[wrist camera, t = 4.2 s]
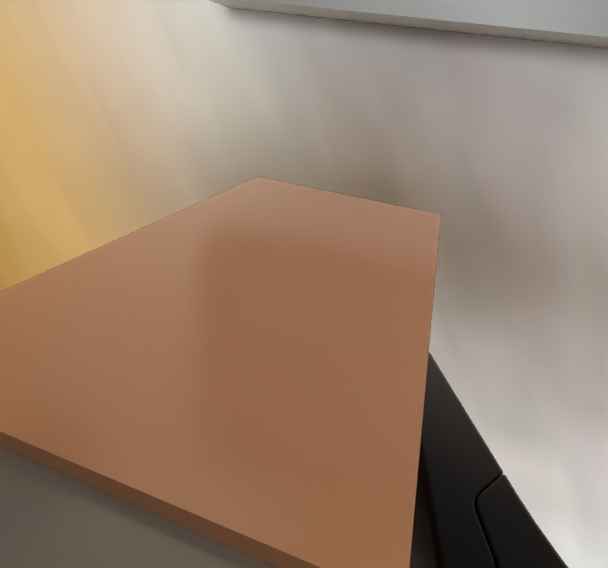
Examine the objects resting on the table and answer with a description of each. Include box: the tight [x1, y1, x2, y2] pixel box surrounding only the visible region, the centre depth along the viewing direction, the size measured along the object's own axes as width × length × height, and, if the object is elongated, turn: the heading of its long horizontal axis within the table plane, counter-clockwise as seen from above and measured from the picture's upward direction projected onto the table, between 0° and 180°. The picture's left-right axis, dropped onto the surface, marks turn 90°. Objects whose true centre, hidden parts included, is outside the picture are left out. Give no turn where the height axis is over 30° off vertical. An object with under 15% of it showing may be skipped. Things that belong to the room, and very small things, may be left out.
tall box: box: [0, 176, 441, 568], centre depth 8 cm, size 5×5×10 cm
